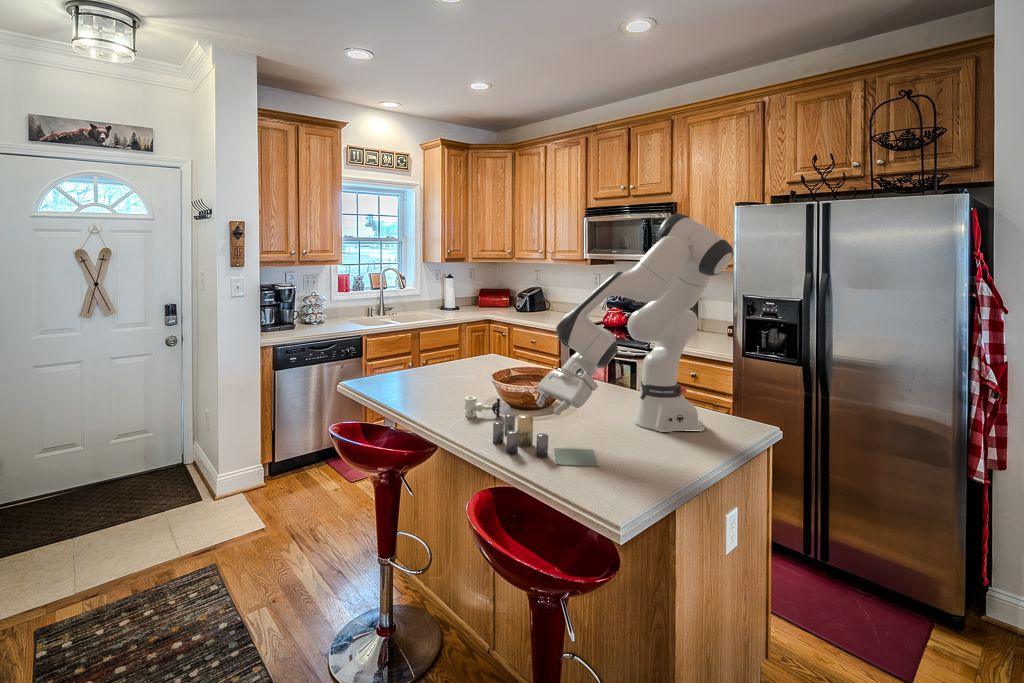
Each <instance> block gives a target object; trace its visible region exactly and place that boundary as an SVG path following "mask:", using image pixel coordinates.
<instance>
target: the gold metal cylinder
mask: <svg viewBox="0 0 1024 683" xmlns="http://www.w3.org/2000/svg"><path fill="white" fill-rule="evenodd" d="M516 431H517V432H518V447H520V446H521V447H520V448H530V446H531V447H532V446H533V439H534V438H533V437H534V435H533V434H534V416H533V415H531V414H528V413H527V414H518V415H517V430H516Z"/></svg>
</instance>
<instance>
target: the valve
mask: <svg viewBox="0 0 1024 683" xmlns="http://www.w3.org/2000/svg"><path fill="white" fill-rule="evenodd" d="M464 400H465V404H464V417H466V416H467V417H473V418H475V417H474V416H476V417H477V412H478V413H481V412H482V411H490V410H491V411H492V413H493V414H494V415H495V417H496V418H500V413H501V398H496V401H497V402H494V404H491V406H490V404H485V405H484V404H482V402H478V403H477V397H476V396H466V397H465V398H464ZM467 417H466V418H467Z"/></svg>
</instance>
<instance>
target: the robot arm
mask: <svg viewBox="0 0 1024 683" xmlns="http://www.w3.org/2000/svg"><path fill="white" fill-rule="evenodd" d="M733 257H734V249H733V246H732V245H731V244H730V243H729V242H728V241H727V240H726V239H724V238H722V237H721V236H720V235H719V234H717V233H716V232H715V231H713V230H712V229H711V228H709V227H708V226H704V224H701V223H699V222H698V221H696V220H694V219H692V218H690V216H688V215H686V214H683V213H681V212H677V213H674V214H671V215H669V216H668V217H666V219H664V220H663V222H662V223H661V225H659V228H658V231H657V242H655V243H654V244H653V245H652V246H651V248H649V249H648V250H647V251H646V253H645V254H644V255H643V256H642V257H641V259H640V260H639V261H638V262H637V263H636V265H634V266H633V267H632V268H630V269H628V270H627V271H617V272H614V273H613V274H612V275H611V276H609V277H608V278H607V279H606V280H604V282H602V284H600V285H599V286H598V287H597V288H596V289H594V290H593V291H592V292H591V293H590V294H589V295H588V296H587V297H586V298H584V300H582V301H581V302H580V304H578V305H577V306H576V307H575V308H574V309H573V310H571V311H569V312H568V313H566V314H565V315H564V316H563V317H562V318H561V319H560V320H559V322H558V323H557V325H556V328H555V329H556V330H555V331H556V335H557V338H558V341H560V342H561V343H563V344H564V345H566V346H568V347H570V348H571V349H572V350H573V351H575V353H574V354H572V355H571V356H570V357H569V359H567V361H566V362H565V363H564V364H563V365H562V367H561V368H557V369H554V370H551V371H549V372H548V373H547V374H546V375H545V376H544V377H543V378H542V379H541V380H540V382H539V383H538V384H537V388H538V389H539V391H540V395H539V397H538V399H537V401H536V402H535V404H536V405H537V406H538V407H540V408H543V407H544V405H545V404H546V403H545V400H546V399H548V398H549V397H551V398H553V399H555V400H558V401H560V402H561V404H560V405H558V406H555V407H554V408H553V409H552V412H553V413H554V415H556V416H560V415H561V414H562V413H563V412H564V411H566V410H567V409H569V408H570V407H571V406H572V407H574V408H576V409H579V408H581V407H583V406H584V405H585V404H586V402H587V401H588V400H589V398H590V397H591V396H592V394H593V391H596V390H597V389H598V387H599V385H598V384H597V382H596V381H595V380H594V378H593V377H594V376H595V373H596V372H597V370H598V369H602V368H607V366H608V364H610V362H611V360H612V359H614V358H615V356H616V355H617V354H618V352H619V350H618V349H619V348H618V343H617V339H616V336H615V335H614V333H612V332H611V331H610V330H608V329H606V328H604V327H599V326H598V325H597V324H596V323H594V322H593V321H592V320H591V319H590V318H589V315H590V314H591V313H592V312H593V311H594V310H596V308H598V307H599V306H600V305H601V304H602V303H603V302H604V301H606V300H607V299H609V298H610V297H615V296H616V297H622V298H626V299H629V300H633V301H636V302H641V303H646V304H645V305H644V306H642V307H641V308H639V309H636V310H635V311H634V312H632V313H631V314H630V315H629V318H628V319H627V326H626V327H627V331H628V334H629V335H630V337H631V339H633V340H634V341H636V342H637V341H638V342H643V343H655V345H654V347H653V349H652V350H651V351H650V352H649V353H648V354H646V355H645V357H644V358H643V364H642V377H641V378H642V380H641V381H640V386H639V398H640V399H639V404H638V410H637V413H636V416H635V418H634V424H636V425H637V426H639V427H641V428H644V429H648V430H652V431H656V432H658V431H659V433H662V432H669V433H672V432H671V431H685V430H703V429H705V430H706V425H705V424H704V422H703V421H701V419H699V413H698V410H697V408H696V407H695V405H693V404H692V403H691V402H690V401H689V400H687V399H686V397H684V396H683V395H685V394H687V388H686V387H684V386H682V385H680V384H679V383H677V382H678V370H679V363H680V359H681V357H682V354H683V351H684V349H685V347H686V345H687V344H688V342H689V341H691V339H692V338H693V337H694V336H695V335H696V333H697V332H698V330H699V325H700V324H699V318H698V316H697V314H696V313H695V312H694V311H693V310H691V308H693V307H695V305H696V304H697V303H698V301H699V299H700V297H701V296H702V295H703V293H704V291H705V289H706V287H707V285H708V284H709V282H710V280H711V279H712V276H713V277H714V276H718V275H720V274H721V273H722V272H724V271H725V270H726V268H728V266H729V265H730V263H731V262H732V260H733Z"/></svg>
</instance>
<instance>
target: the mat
mask: <svg viewBox="0 0 1024 683" xmlns="http://www.w3.org/2000/svg"><path fill="white" fill-rule="evenodd" d="M554 450H555V451H554ZM553 451H554V456H555V457H556V458H555V464H557V465H556V466H562V465H568V466H569V465H570V466H569V467H591V466H592V467H593V466H595V467H596V468H597V467H599V464H598V461H597V458H596V455H595V452H594V449H591V448H590V449H588V448H562V447H561V448H560V447H559V448H558V447H555V448H553ZM593 468H594V467H593Z"/></svg>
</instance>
